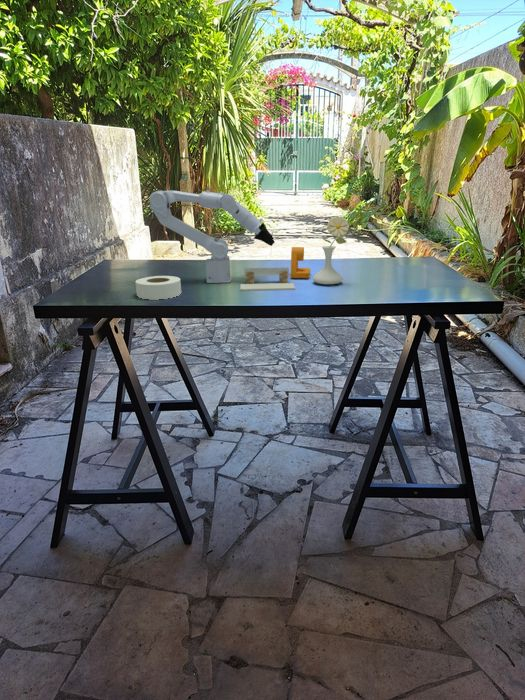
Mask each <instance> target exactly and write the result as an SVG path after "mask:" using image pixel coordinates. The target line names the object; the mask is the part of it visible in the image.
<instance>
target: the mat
mask: <svg viewBox="0 0 525 700" xmlns="http://www.w3.org/2000/svg"><path fill="white" fill-rule="evenodd" d="M239 287H240V289H239V291H241V292H244V291H246V292H248V291H249V290H253V291H292V290H293V291H295V290H296V286H295V284H294V283H293V282H290V283H289V282H288V283H280V282H278V283H254V284H246V283H240V286H239Z"/></svg>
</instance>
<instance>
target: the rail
mask: <svg viewBox="0 0 525 700" xmlns="http://www.w3.org/2000/svg"><path fill="white" fill-rule="evenodd" d="M280 272H288V276H289V275H290V267H289V266H288V267H247V268H246V267H245V268H244V276H245V277H246V273H254V277H255V276H279V275H280Z"/></svg>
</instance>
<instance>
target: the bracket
mask: <svg viewBox="0 0 525 700" xmlns="http://www.w3.org/2000/svg"><path fill="white" fill-rule="evenodd" d="M290 256H291V257H290V278H291V279H310V277H309V276H311V268H310V267H299V261H300V262H304V261H305V247H304V246H292V247H291V253H290Z"/></svg>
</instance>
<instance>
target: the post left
mask: <svg viewBox="0 0 525 700" xmlns="http://www.w3.org/2000/svg"><path fill="white" fill-rule="evenodd" d="M245 284H255V276H254V273H246V276H245Z"/></svg>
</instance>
